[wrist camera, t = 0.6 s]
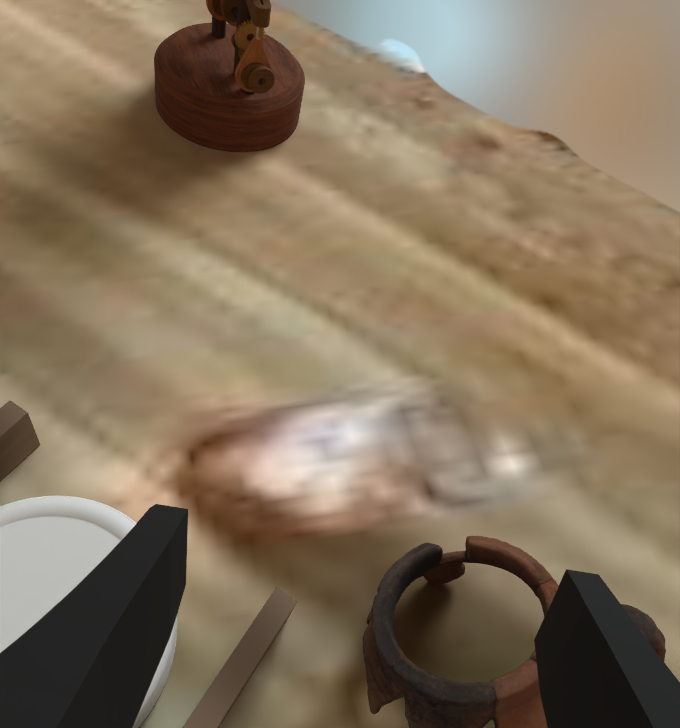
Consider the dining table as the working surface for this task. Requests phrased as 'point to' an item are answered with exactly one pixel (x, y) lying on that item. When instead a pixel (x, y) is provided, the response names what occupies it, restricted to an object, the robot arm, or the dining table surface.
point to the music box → (229, 80)
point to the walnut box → (18, 439)
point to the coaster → (59, 565)
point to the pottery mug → (448, 698)
